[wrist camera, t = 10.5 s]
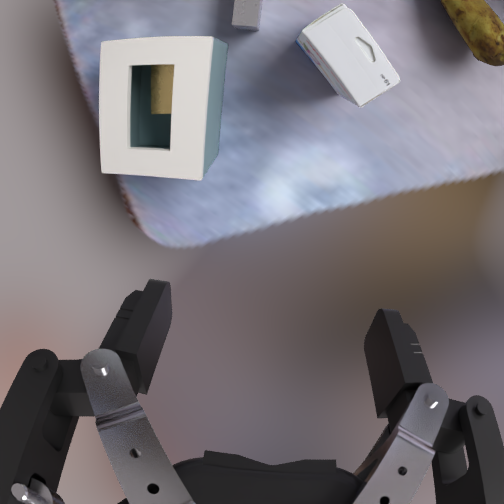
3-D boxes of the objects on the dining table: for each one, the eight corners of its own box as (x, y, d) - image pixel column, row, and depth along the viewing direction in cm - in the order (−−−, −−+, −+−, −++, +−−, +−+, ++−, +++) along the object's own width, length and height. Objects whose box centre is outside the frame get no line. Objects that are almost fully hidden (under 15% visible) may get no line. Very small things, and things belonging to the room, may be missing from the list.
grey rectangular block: (236, 29, 31) (231, 24, 27) (241, -15, 27) (237, -24, 24) (258, 31, 31) (256, 26, 27) (264, -14, 27) (263, -22, 24)
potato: (470, -23, 21) (503, -31, 15) (490, 64, 28) (526, 69, 21) (419, -29, 23) (447, -43, 16) (442, 62, 30) (475, 66, 23)
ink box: (291, 41, 31) (298, 29, 21) (325, 19, 29) (345, -1, 19) (337, 97, 34) (361, 109, 24) (369, 75, 32) (406, 80, 22)
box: (139, 44, 32) (101, 41, 23) (228, 44, 32) (212, 36, 23) (136, 148, 39) (101, 173, 31) (218, 154, 39) (201, 180, 31)
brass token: (162, 109, 35) (151, 114, 32) (163, 62, 32) (151, 62, 29) (183, 108, 35) (173, 113, 32) (184, 61, 32) (173, 60, 29)
